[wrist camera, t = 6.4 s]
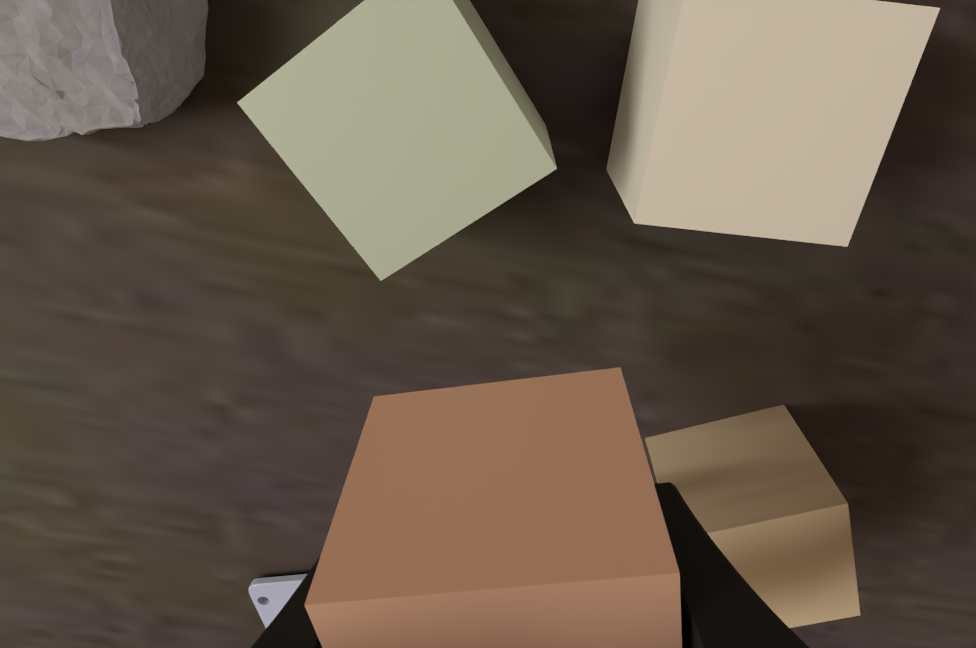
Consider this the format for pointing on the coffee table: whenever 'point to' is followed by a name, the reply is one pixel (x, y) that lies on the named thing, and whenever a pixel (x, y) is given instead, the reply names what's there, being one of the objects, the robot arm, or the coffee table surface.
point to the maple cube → (767, 510)
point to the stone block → (96, 63)
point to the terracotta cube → (500, 524)
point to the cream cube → (761, 112)
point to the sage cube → (403, 126)
